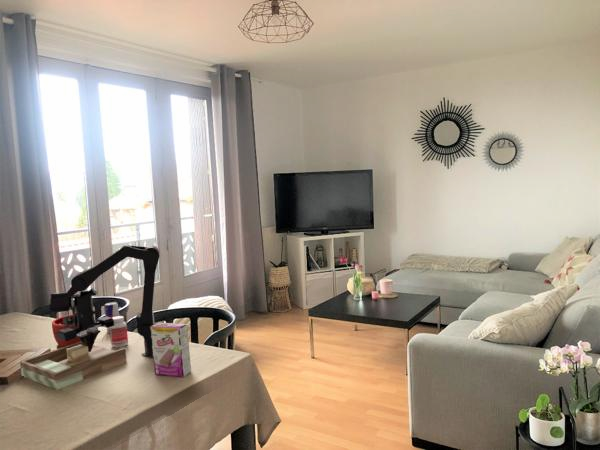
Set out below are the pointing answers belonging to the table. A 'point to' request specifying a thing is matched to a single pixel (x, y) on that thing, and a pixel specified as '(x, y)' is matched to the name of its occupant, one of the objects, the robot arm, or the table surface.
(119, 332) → the pill bottle
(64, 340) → the robot arm
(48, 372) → the box
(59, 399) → the table surface
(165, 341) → the candy bar box
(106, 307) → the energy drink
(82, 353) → the maple block
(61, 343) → the plant pot
